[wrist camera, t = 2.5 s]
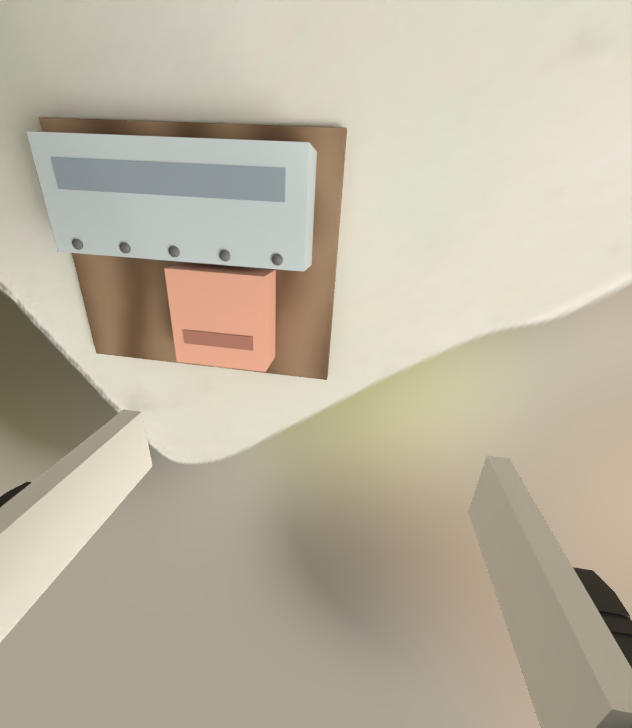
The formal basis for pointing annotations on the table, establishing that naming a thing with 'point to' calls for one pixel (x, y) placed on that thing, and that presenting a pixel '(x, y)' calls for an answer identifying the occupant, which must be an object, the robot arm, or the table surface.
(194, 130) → the backing board
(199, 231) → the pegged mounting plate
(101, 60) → the table surface
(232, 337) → the stub
